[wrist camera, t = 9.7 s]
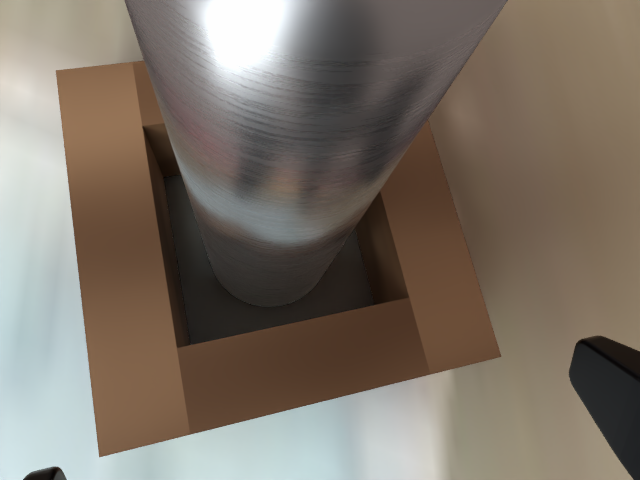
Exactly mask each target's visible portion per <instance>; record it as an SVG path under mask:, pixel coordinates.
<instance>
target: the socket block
mask: <svg viewBox="0 0 640 480" xmlns="http://www.w3.org/2000/svg"><path fill="white" fill-rule="evenodd" d="M56 76H57V85H58V94H59V103H60V111H61V120H62V129H63V138H64V147H65V156H66V165H67V174H68V183H69V192H70V200H71V209H72V218H73V227H74V236H75V245H76V254H77V263H78V272H79V281H80V289H81V298H82V307H83V316H84V325H85V334H86V343H87V352H88V361H89V370H90V378H91V387H92V396H93V405H94V414H95V423H96V432H97V441H98V450H99V457H102V456H106V455H110V454H114V453H118V452H122V451H126V450H130V449H134V448H138V447H142V446H146V445H150V444H154V443H158V442H162V441H166V440H170V439H174V438H178V437H182V436H186V435H190V434H194V433H198V432H202V431H206V430H210V429H214V428H218V427H222V426H226V425H230V424H234V423H238V422H242V421H246V420H250V419H254V418H258V417H262V416H266V415H270V414H274V413H278V412H282V411H286V410H290V409H294V408H298V407H302V406H306V405H310V404H314V403H318V402H322V401H326V400H330V399H334V398H338V397H342V396H346V395H350V394H354V393H358V392H362V391H366V390H370V389H374V388H378V387H382V386H386V385H390V384H394V383H398V382H402V381H406V380H410V379H414V378H418V377H422V376H426V375H430V374H434V373H438V372H442V371H446V370H450V369H454V368H458V367H462V366H466V365H470V364H474V363H478V362H482V361H486V360H490V359H494V358H498V357H501V354H500V351H499V347H498V344H497V341H496V338H495V335H494V331H493V328H492V325H491V322H490V318H489V315H488V312H487V309H486V306H485V302H484V299H483V296H482V293H481V289H480V286H479V283H478V280H477V277H476V273H475V270H474V267H473V264H472V260H471V257H470V254H469V251H468V248H467V244H466V241H465V238H464V235H463V232H462V228H461V225H460V222H459V219H458V215H457V212H456V209H455V206H454V203H453V199H452V196H451V193H450V190H449V186H448V183H447V180H446V177H445V174H444V170H443V167H442V164H441V161H440V158H439V154H438V151H437V148H436V145H435V141H434V138H433V135H432V132H431V129H430V125H429V122H428V120H427V121H426V123H425V124H424V126H423V127H422V129H421V130H420V132H419V133H418V135H417V136H416V138H415V139H414V141H413V142H412V144H411V145H410V147H409V148H408V150H407V151H406V153H405V154H404V155H403V157H402V158H401V160H400V161H399V163H398V164H397V166H396V167H395V169H394V170H393V172H392V173H391V175H390V176H389V178H388V179H387V181H386V182H385V184H384V185H383V187H382V188H381V190H380V191H379V193H378V194H377V196H376V197H375V199H374V200H373V202H372V203H371V205H370V206H369V208H368V209H367V211H366V212H365V214H364V215H363V217H362V218H361V220H360V221H359V222H358V224H357V225H356V227H355V231H356V235H357V239H358V243H359V246H360V250H361V254H362V258H363V262H364V266H365V270H366V274H367V278H368V282H369V285H370V289H371V293H372V297H373V301H374V305H373V306H368V307H364V308H359V309H355V310H350V311H345V312H341V313H336V314H332V315H327V316H322V317H318V318H313V319H309V320H304V321H299V322H295V323H290V324H286V325H281V326H276V327H272V328H267V329H262V330H258V331H253V332H249V333H244V334H239V335H235V336H230V337H226V338H221V339H216V340H212V341H207V342H203V343H198V344H193V345H191V344H190V338H189V332H188V326H187V319H186V313H185V307H184V301H183V295H182V289H181V283H180V276H179V270H178V264H177V258H176V252H175V246H174V239H173V233H172V227H171V221H170V215H169V209H168V203H167V196H166V190H165V184H164V178H163V177H168V176H174V175H181V172H180V169H179V166H178V163H177V160H176V157H175V154H174V151H173V148H172V145H171V142H170V138H169V135H168V132H167V129H166V126H165V123H164V120H163V117H162V114H161V111H160V108H159V105H158V102H157V99H156V95H155V92H154V89H153V86H152V83H151V80H150V77H149V74H148V71H147V68H146V65H145V62H144V61H138V62H129V63H120V64H111V65H102V66H93V67H83V68H74V69H65V70H56Z"/></svg>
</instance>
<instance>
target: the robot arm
mask: <svg viewBox="0 0 640 480" xmlns="http://www.w3.org/2000/svg"><path fill="white" fill-rule="evenodd" d="M569 377H570V381H571V384H572V386H573V387H574V389H575V391H576V392H577V394H578V395H579V397H580V399H581V400H582V402H583V403H584V405H585V407H586V408H587V410H588V412H589V413H590V415H591V416H592V418H593V420H594V421H595V423H596V424H597V426H598V428H599V429H600V431H601V432H602V434H603V436H604V437H605V439H606V440H607V442H608V444H609V445H610V447H611V448H612V450H613V451H614V453H615V454H616V456H617V457H618V459H619V460H620V462H621V463H622V464H623V466H624V467H625V469H626V470H627V471H628V473H629V474H630V475H631V477H632V478H633V479H634V480H640V351H637V350H635V349H633V348H630V347H628V346H625V345H623V344H620V343H618V342H616V341H613V340H611V339H608V338H606V337H603V336H593V337H588V338H584V339H581V340H579V341H578V342H577V343H576V346H575V349H574V353H573V357H572V361H571V365H570V369H569ZM23 480H67V479H66V477H65V475H64V473H63V471H62V470H61V469H60V468H59V467H50V468H46V469H41V470H37V471H34V472H31V473H29V474H28V475H27V476H26V477H25V478H24V479H23Z"/></svg>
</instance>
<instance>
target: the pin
mask: <svg viewBox="0 0 640 480" xmlns="http://www.w3.org/2000/svg"><path fill="white" fill-rule="evenodd" d="M507 1H508V0H125V3H126V6H127V9H128V13H129V16H130V19H131V22H132V25H133V28H134V31H135V34H136V37H137V40H138V43H139V46H140V49H141V52H142V56H143V59H144V62H145V65H146V68H147V71H148V74H149V77H150V80H151V83H152V86H153V89H154V92H155V95H156V99H157V102H158V105H159V108H160V111H161V114H162V117H163V120H164V123H165V126H166V129H167V132H168V135H169V138H170V142H171V145H172V148H173V151H174V154H175V157H176V160H177V163H178V166H179V169H180V172H181V175H182V178H183V181H184V185H185V188H186V191H187V194H188V197H189V200H190V203H191V206H192V209H193V212H194V215H195V218H196V221H197V225H198V228H199V231H200V234H201V237H202V240H203V243H204V246H205V249H206V252H207V255H208V258H209V261H210V264H211V267H212V270H213V272H214V274H215V276H216V278H217V279H218V281H219V282H220V283H221V285H222V286H223V287H224V288H225V289H226V290H227V291H228V292H229V293H231V294H232V295H233V296H235V297H236V298H238V299H240V300H242V301H244V302H246V303H249V304H252V305H256V306H263V307H275V306H282V305H286V304H289V303H292V302H294V301H297V300H298V299H300V298H302V297H303V296H305V295H306V294H307V293H309V292H310V291H311V290H312V289H313V288H314V287H315V286H316V284H317V283H318V282H319V281H320V279H321V278H322V276H323V275H324V273H325V272H326V270H327V269H328V267H329V266H330V264H331V263H332V261H333V260H334V258H335V257H336V255H337V254H338V252H339V251H340V249H341V248H342V246H343V245H344V243H345V242H346V240H347V239H348V237H349V236H350V234H351V233H352V231H353V230H354V228H355V227H356V225H357V224H358V222H359V221H360V220H361V218H362V217H363V215H364V214H365V212H366V211H367V209H368V208H369V206H370V205H371V203H372V202H373V200H374V199H375V197H376V196H377V194H378V193H379V191H380V190H381V188H382V187H383V185H384V184H385V182H386V181H387V179H388V178H389V176H390V175H391V173H392V172H393V170H394V169H395V167H396V166H397V164H398V163H399V161H400V160H401V158H402V157H403V155H404V154H405V153H406V151H407V150H408V148H409V147H410V145H411V144H412V142H413V141H414V139H415V138H416V136H417V135H418V133H419V132H420V130H421V129H422V127H423V126H424V124H425V123H426V121H427V120H428V118H429V117H430V115H431V114H432V112H433V111H434V109H435V108H436V106H437V105H438V103H439V102H440V100H441V99H442V97H443V96H444V94H445V93H446V91H447V90H448V88H449V87H450V86H451V84H452V83H453V81H454V80H455V78H456V77H457V75H458V74H459V72H460V71H461V69H462V68H463V66H464V65H465V63H466V62H467V60H468V59H469V57H470V56H471V54H472V53H473V51H474V50H475V48H476V47H477V45H478V44H479V42H480V41H481V39H482V38H483V36H484V35H485V33H486V32H487V30H488V29H489V27H490V26H491V24H492V23H493V21H494V20H495V19H496V17H497V16H498V14H499V13H500V11H501V10H502V8H503V7H504V5H505V4H506V2H507Z"/></svg>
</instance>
